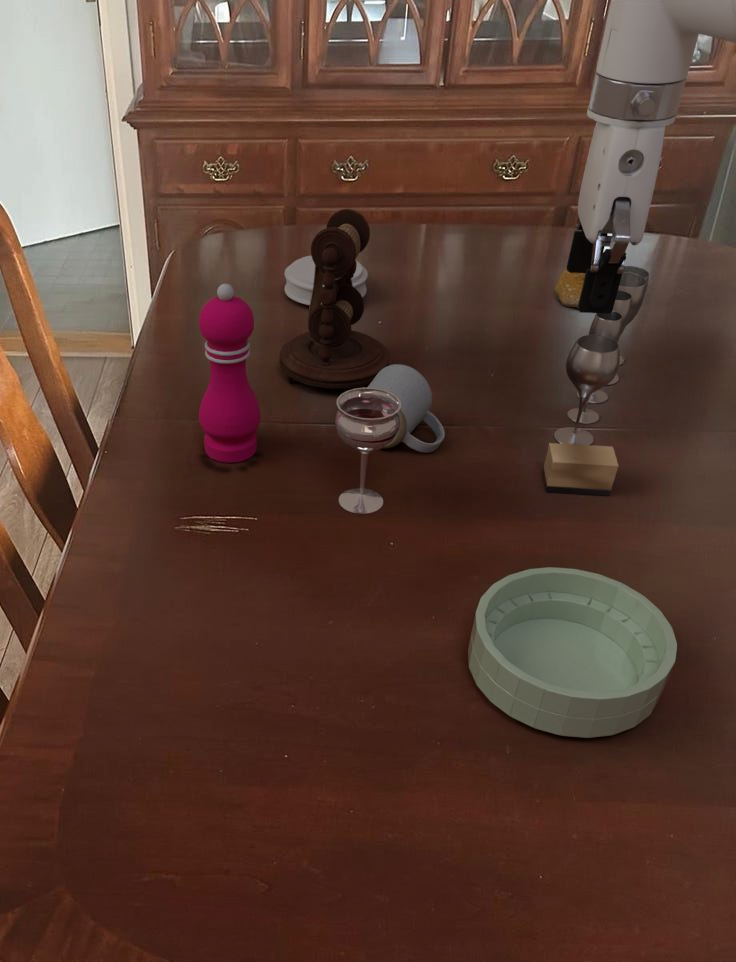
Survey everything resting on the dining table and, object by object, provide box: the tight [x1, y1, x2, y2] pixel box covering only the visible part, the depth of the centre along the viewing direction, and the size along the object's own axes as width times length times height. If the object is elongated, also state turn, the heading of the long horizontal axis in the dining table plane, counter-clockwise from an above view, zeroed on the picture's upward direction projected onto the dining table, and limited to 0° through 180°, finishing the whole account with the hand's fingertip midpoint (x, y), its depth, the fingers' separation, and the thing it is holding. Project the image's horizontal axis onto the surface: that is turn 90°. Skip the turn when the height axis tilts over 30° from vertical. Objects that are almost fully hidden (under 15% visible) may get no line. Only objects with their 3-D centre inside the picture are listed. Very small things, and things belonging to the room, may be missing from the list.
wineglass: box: [334, 387, 401, 515], centre depth 99 cm, size 7×7×12 cm
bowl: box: [467, 566, 678, 739], centre depth 81 cm, size 17×17×6 cm
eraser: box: [541, 442, 619, 497], centre depth 103 cm, size 7×4×4 cm, turn 83°
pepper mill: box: [198, 283, 262, 464], centre depth 104 cm, size 7×7×20 cm
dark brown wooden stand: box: [279, 208, 391, 389], centre depth 118 cm, size 15×15×20 cm
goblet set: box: [553, 265, 650, 445], centre depth 115 cm, size 28×6×13 cm, turn 154°
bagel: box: [554, 268, 586, 309], centre depth 140 cm, size 10×11×5 cm
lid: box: [284, 255, 368, 306], centre depth 142 cm, size 13×13×5 cm
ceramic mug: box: [366, 363, 446, 454], centre depth 110 cm, size 11×8×8 cm
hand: (587, 291), depth 93 cm, fingers open, 9 cm apart
